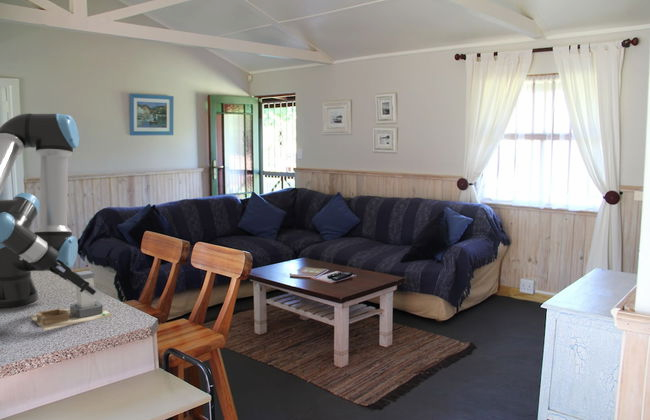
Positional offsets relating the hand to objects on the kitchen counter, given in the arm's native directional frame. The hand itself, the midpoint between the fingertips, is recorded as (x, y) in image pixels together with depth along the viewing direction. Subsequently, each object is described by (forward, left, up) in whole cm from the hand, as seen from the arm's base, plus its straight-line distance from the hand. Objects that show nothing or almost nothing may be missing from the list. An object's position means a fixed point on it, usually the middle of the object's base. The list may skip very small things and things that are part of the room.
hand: (93, 293), depth 179 cm
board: (0, -7, -7) cm, 10 cm away
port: (+1, -2, -6) cm, 6 cm away
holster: (0, -12, -6) cm, 14 cm away
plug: (0, -2, -6) cm, 6 cm away
